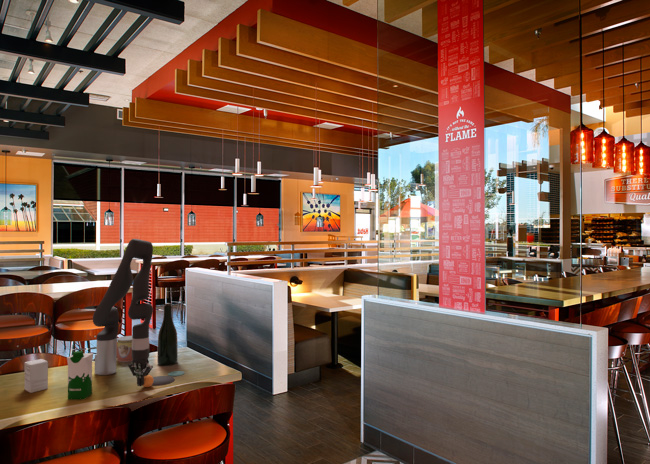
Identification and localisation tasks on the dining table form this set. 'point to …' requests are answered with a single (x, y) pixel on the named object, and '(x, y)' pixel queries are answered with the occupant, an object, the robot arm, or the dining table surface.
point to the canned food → (124, 349)
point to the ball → (148, 381)
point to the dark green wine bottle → (167, 339)
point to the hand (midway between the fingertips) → (140, 385)
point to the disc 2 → (176, 373)
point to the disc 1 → (162, 380)
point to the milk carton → (79, 375)
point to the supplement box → (36, 375)
